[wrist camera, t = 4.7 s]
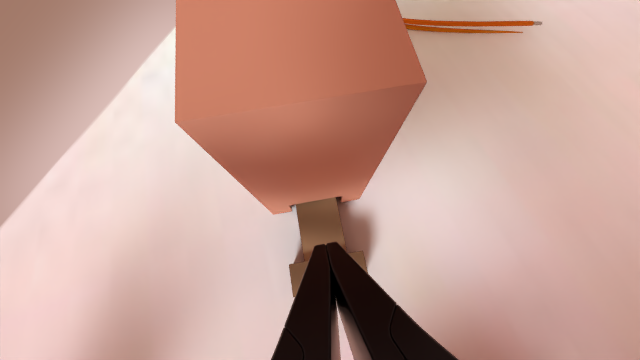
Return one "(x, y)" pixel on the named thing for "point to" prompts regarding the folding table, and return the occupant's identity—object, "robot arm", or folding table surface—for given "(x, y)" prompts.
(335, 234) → the rail
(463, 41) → the folding table surface
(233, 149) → the block
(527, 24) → the motor
